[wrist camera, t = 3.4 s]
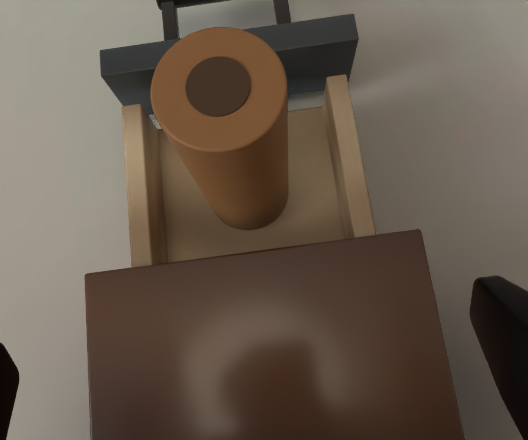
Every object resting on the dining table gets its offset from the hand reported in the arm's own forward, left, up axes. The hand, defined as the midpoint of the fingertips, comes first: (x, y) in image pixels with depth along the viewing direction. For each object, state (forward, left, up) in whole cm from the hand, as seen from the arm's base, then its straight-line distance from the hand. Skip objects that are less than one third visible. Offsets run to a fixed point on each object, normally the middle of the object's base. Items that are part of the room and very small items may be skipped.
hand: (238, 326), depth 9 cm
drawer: (+5, -6, -11) cm, 14 cm away
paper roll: (+4, -4, -10) cm, 12 cm away
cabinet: (-3, +3, -12) cm, 13 cm away
